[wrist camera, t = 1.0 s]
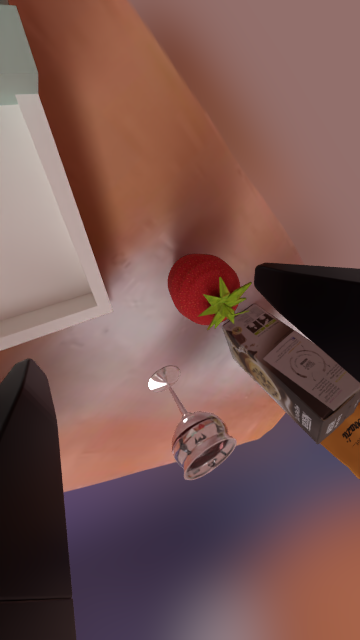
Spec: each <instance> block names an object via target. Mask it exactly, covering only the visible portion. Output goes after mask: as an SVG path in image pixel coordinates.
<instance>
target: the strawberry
mask: <svg viewBox="0 0 360 640" xmlns="http://www.w3.org/2000/svg"><path fill="white" fill-rule="evenodd" d="M251 284H252V282H250V283H248V284H246V285H244V286H242V287H240V282H239V279H238V276H237V274H236V273H235V271H234V270H233V269H232V268H231V267H230V266H229V265H228V264H227V263H225V262H224V261H223V260H222V259H220V258H218V257H216V256H213V255H207V254H189V255H186V256H183V257H182V258H180V259H179V260H178V261H177V262H176V263H175V264H174V265H173V267H172V268H171V270H170V273H169V276H168V289H169V292H170V295H171V297H172V300H173V302H174V304H175V306H176V308H177V309H178V311H179V312H180V313H181V314H182V315H184V316H185V317H187V318H188V319H190V320H191V321H193V322H195V323H197V324H201V325H209V327H208V328H207V330H209V329H210V328H211V327H212V326H213V325H214V324H215V328H216V327H217V326H218V325H219V324H220V323H221V322H223V321H225V320H226V319H229V320H230V321H231V322H232V323H233V324H234V315H238V314H242V313H245V312H249V310H248V311H244V312H241V313H237V314H234V311H235V310H236V308H237V306H238V304H239V303H240V302H242V301H244V300H246V298H240V297H241V296H242V294H243V293H244V292H245V291H246V290H247V288H248V287H249V286H250V285H251Z"/></svg>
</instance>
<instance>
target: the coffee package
mask: <svg viewBox="0 0 360 640" xmlns="http://www.w3.org/2000/svg"><path fill="white" fill-rule="evenodd" d="M320 443H321V444H322V445H323V446H324V447H325V448H326V449H327V450H328V451H330V453H332V454H333V455H334V456H335V457H336V458H338V459H339V460H340V461H341V462H342V463H343V464H345V465H346V466H347V467H348V468H349V469H350V470H351V471H352V472H353V474H355V476H356V477H357V478H359V479H360V402H359V403H358V405H357V407H356V409H355V411H354V413H353V414H351V415H350V416H349V417H348V418H347V419H345V420H344V422H343V423H342V424H341V425H340V426H339V427H338V428H337V429H335V430H334V431H333V432H332V433H331V434H330V435H329V436H328V437H326V438H325V439H324V440H323V441H322V442H320Z"/></svg>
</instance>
